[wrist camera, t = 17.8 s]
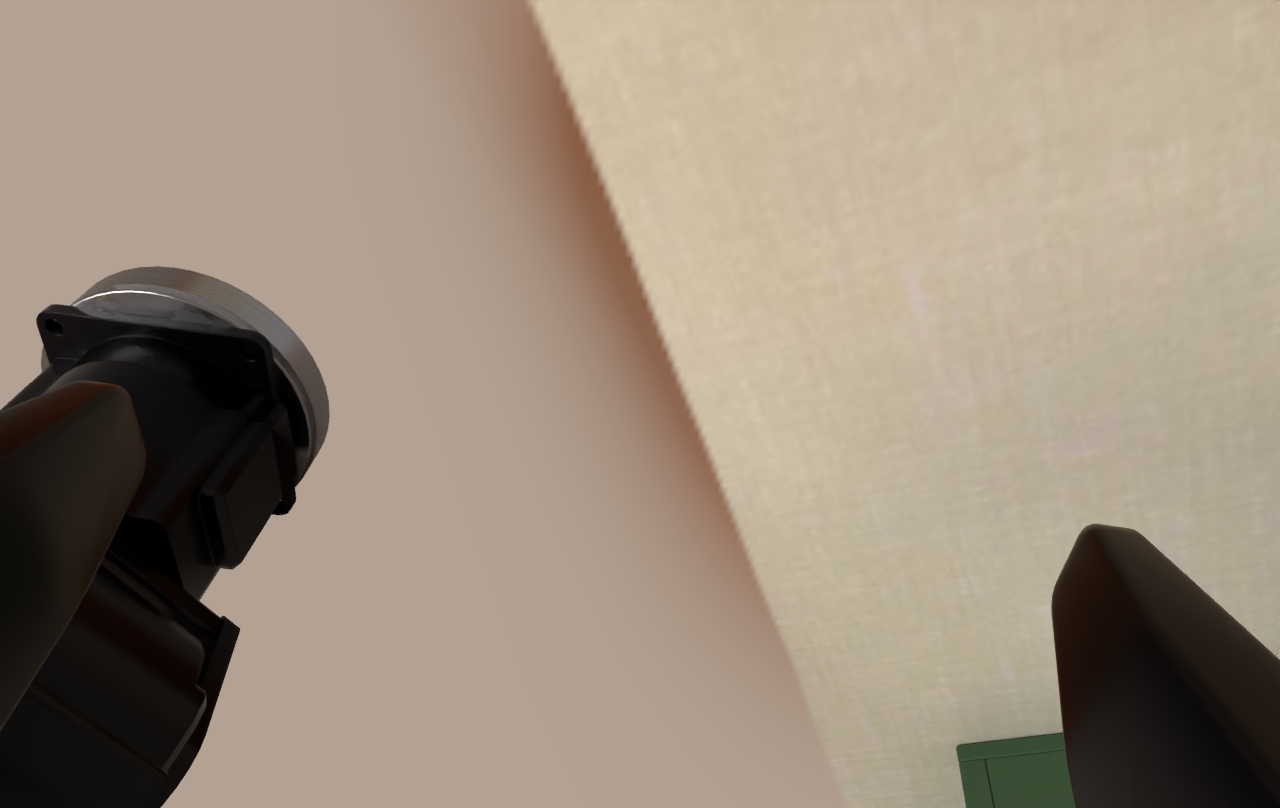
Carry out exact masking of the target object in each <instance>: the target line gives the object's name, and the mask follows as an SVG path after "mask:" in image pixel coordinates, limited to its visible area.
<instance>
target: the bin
mask: <svg viewBox="0 0 1280 808" xmlns="http://www.w3.org/2000/svg"><path fill="white" fill-rule="evenodd" d="M956 749H957V755H958V761H959V767H960V773H961V779H962V784H963V790H964V796H965V802H966V808H1076V805H1075V801H1074V796H1073V792H1072V787H1071V782H1070V776H1069V771H1068V766H1067V760H1066V752H1065V744H1064V736H1063V733H1061V734H1052V735H1043V736H1035V737H1026V738H1017V739H1009V740H1000V741H992V742H983V743H974V744H966V745H958V746H957V747H956Z"/></svg>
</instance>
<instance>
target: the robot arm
mask: <svg viewBox="0 0 1280 808" xmlns="http://www.w3.org/2000/svg"><path fill="white" fill-rule="evenodd" d="M55 320H56V321H58V322H59V323H60V324H61V325H62V326H60V325H59V324H57V323H56V321H55ZM36 323H37V327H38V330H39V333H40V336H41V339H42V342H43V346H44V349H45V352H46V355H47V358H48V361H49V364H50V366H48V367H47V368H46V369H45V370H44V371H43V372H42V373H41V374H40V375H39V376H37V378H35V379H34V380H33V381H32V382H31V383H30V384H29V385H28V386H26V387H25V388H24V389H23V390H22V391H21V392H20V393H19V394H18V395H17V396H15V398H13V399H12V400H11V401H10V402H9V403H8V404H7V405H6V406H5V407H3V408H2V409H1V410H0V808H160V807H161V806H162V805H163V804H164V803H165V801H166V800H167V799H168V798H169V796H170V795H171V794H172V793H173V791H174V790H175V789H176V788H177V786H178V785H179V783H180V782H181V780H182V779H183V777H184V776H185V774H186V773H187V771H188V770H189V768H190V766H191V765H192V763H193V761H194V759H195V757H196V756H197V754H198V752H199V750H200V748H201V745H202V743H203V740H204V738H205V736H206V733H207V730H208V726H209V724H210V720H211V717H212V714H213V711H214V708H215V705H216V702H217V699H218V696H219V693H220V690H221V687H222V684H223V680H224V678H225V674H226V672H227V669H228V666H229V662H230V659H231V656H232V653H233V650H234V647H235V644H236V641H237V638H238V635H239V632H240V628H239V627H237V626H236V625H235V624H234V623H232V622H231V621H230V620H229V619H227V618H226V617H225V616H222V617H219V616H218V615H216V614H215V613H214V612H212V611H211V610H210V609H209V608H207V607H206V606H205V605H204V604H202V603H201V602H200V599H201V597H202V596H203V594H204V593H205V591H206V590H207V588H208V587H209V585H210V584H211V582H212V580H213V579H214V577H215V576H216V574H217V572H218V571H219V569H220V568H224V569H234V568H235V567H236V566H238V565H239V564H240V563H241V562H242V561H243V559H244V557H245V556H246V555H247V553H248V551H249V550H250V548H251V546H252V545H253V543H254V542H255V540H256V538H257V537H258V535H259V533H260V532H261V530H262V529H263V527H264V526H265V524H266V522H267V521H268V519H269V518H270V516H271V514H272V515H285V514H288V513H289V511H290V510H291V509H292V507H293V505H294V504H295V502H296V492H295V486H294V480H293V479H294V478H295V476H296V474H297V467H296V461H295V455H294V449H293V442H292V436H291V430H290V424H289V417H288V411H287V409H286V407H285V406H284V404H283V403H282V402H281V400H280V394H279V388H278V382H277V376H276V370H275V364H274V358H273V352H272V347H271V344H270V342H269V341H268V339H267V338H266V337H265V336H264V335H262V334H261V333H259V332H256V331H253V330H247V329H240V328H232V327H225V326H217V325H210V324H202V323H195V322H187V321H180V320H173V319H165V318H158V317H150V316H143V315H135V314H128V313H120V312H113V311H105V310H98V309H90V308H83V307H76V306H68V305H60V304H52V305H50V306H48V307H47V308H45V309H44V310H43V311H42V312H41V313H39V314H38V316H37V318H36ZM246 345H247V346H250V347H252V348H253V349H254V350H255V351H256V353H253V352H251V351H250V350H248V349H247V347H246ZM280 500H281V501H280ZM1051 608H1052V621H1053V631H1054V642H1055V652H1056V663H1057V673H1058V683H1059V694H1060V704H1061V715H1062V725H1063V736H1064V744H1065V752H1066V760H1067V766H1068V771H1069V776H1070V782H1071V787H1072V792H1073V796H1074V801H1075V805H1076V808H1280V660H1279V659H1278V658H1277V657H1276V656H1275V655H1274V654H1273V653H1272V652H1271V651H1269V650H1268V649H1267V648H1266V647H1265V646H1264V645H1263V644H1262V643H1261V642H1260V641H1258V640H1257V639H1256V638H1255V637H1254V636H1253V635H1252V634H1251V633H1250V632H1249V631H1247V630H1246V629H1245V628H1244V627H1243V626H1242V625H1241V624H1240V623H1239V622H1238V621H1236V620H1235V619H1234V618H1233V617H1232V616H1231V615H1230V614H1229V613H1228V612H1226V611H1225V610H1224V609H1223V608H1222V607H1221V606H1220V605H1219V604H1218V603H1217V602H1215V601H1214V600H1213V599H1212V598H1211V597H1210V596H1209V595H1208V594H1207V593H1206V592H1204V591H1203V590H1202V589H1201V588H1200V587H1199V586H1198V585H1197V584H1196V583H1195V582H1193V581H1192V580H1191V579H1190V578H1189V577H1188V576H1187V575H1186V574H1185V573H1183V572H1182V571H1181V570H1180V569H1179V568H1178V567H1177V566H1176V565H1175V564H1174V563H1172V562H1171V561H1170V560H1169V559H1168V558H1167V557H1166V556H1165V555H1164V554H1163V553H1161V552H1160V551H1159V550H1158V549H1157V548H1156V547H1155V546H1154V545H1153V544H1151V543H1150V542H1149V541H1148V540H1147V539H1146V538H1145V537H1144V536H1143V535H1141V534H1140V533H1139V532H1137V531H1135V530H1133V529H1129V528H1123V527H1116V526H1109V525H1102V524H1091V525H1088V526H1086V527H1085V528H1084V529H1083V530H1082V531H1081V533H1080V534H1079V536H1078V538H1077V540H1076V542H1075V544H1074V546H1073V549H1072V551H1071V553H1070V555H1069V557H1068V559H1067V561H1066V563H1065V565H1064V567H1063V569H1062V571H1061V574H1060V576H1059V578H1058V580H1057V582H1056V584H1055V587H1054V591H1053V595H1052V607H1051Z"/></svg>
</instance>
